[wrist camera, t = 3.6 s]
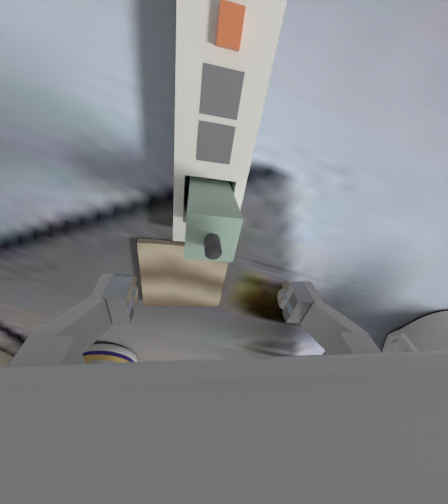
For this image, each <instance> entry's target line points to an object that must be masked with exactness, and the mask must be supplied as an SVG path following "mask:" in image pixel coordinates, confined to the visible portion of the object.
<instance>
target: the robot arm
mask: <svg viewBox="0 0 448 504" xmlns="http://www.w3.org/2000/svg"><path fill="white" fill-rule="evenodd" d="M136 282H137V277H136V275H124V274H105V273H103V274H102V275H101V276H100V278H99V280H98V282H97V284H96V286H95V288H94V289H93V291H92V293H91V295H90V297H89V299H84V300H82V301H81V302H79V303H78V304H76V305H75V306H73V307H72V308H70V309H69V310H67V311H66V312H64V313H62V314H61V315H59V316H58V317H56V318H55V319H53V320H52V321H50V322H49V323H47V324H46V325H44V326H43V327H41V328H39V329H38V330H36V331H35V332H33V333H32V334H30V335H29V336H28V338H27V339H26V341H25V342H24V343H23V345H22V346H21V348H20V349H19V351H18V352H17V353H16V355H15V356H14V358H13V359H12V361H11V362H10V363H9V365H8V366H7V367H0V504H448V311H442V312H437V313H433V314H430V315H427V316H425V317H422V318H420V319H418V320H416V321H414V322H412V323H410V324H408V325H407V326H405V327H403V328H401V329H399V330H397V331H394V332H392V333H390V334H389V335H388V336H387V338H386V341H385V344H384V347H383V350H382V352H381V351H380V349H379V348H378V346H377V345H376V344H375V342H374V341H373V340H372V338H371V337H370V336H369V334H368V333H367V331H365V330H364V329H363V328H361V327H360V326H358V325H357V324H355V323H354V322H353V321H351V320H350V319H348V318H347V317H346V316H344V315H343V314H341V313H340V312H338V311H337V310H336V309H334V308H333V307H331V306H330V305H329V304H327V303H324V302H323V300H322V299H321V297H320V296H319V294H318V293H317V291H316V289H315V288H314V286H313V285H312V283H311V282H309V281H285V282H283V284H282V287H283V289H281V290H280V291H279V293H278V299H277V300H278V304H279V307H281V308H282V309H283V312H282V314H283V316H284V319H285V321H286V323H300V325H301V326H302V327H303V328H304V329H305V330H306V331H307V332H308V333H309V334H310V335H311V336H312V337H313V338H314V339H315V340H316V341H317V342H318V343H319V344H320V345H321V346H322V347H323V348H324V349H325V350H326V351H325V352H324V353H323V354H322V355H310V356H283V357H256V358H229V359H202V360H175V361H147V362H120V363H93V364H86V362H85V360H84V358H83V356H82V354H83V353H84V352H85V351H86V350H87V349H88V348H89V347H90V346H91V345H92V344H93V343H94V342H95V341H96V340H97V339H98V338H99V337H100V336H101V335H102V334H103V333H104V332H105V331H106V330H107V329H108V328H109V327H110V326H111V325H112V324H129V323H131V320H132V317H133V314H134V309H133V307H134V306H135V305H136V303H137V299H138V287H137V286H136Z"/></svg>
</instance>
